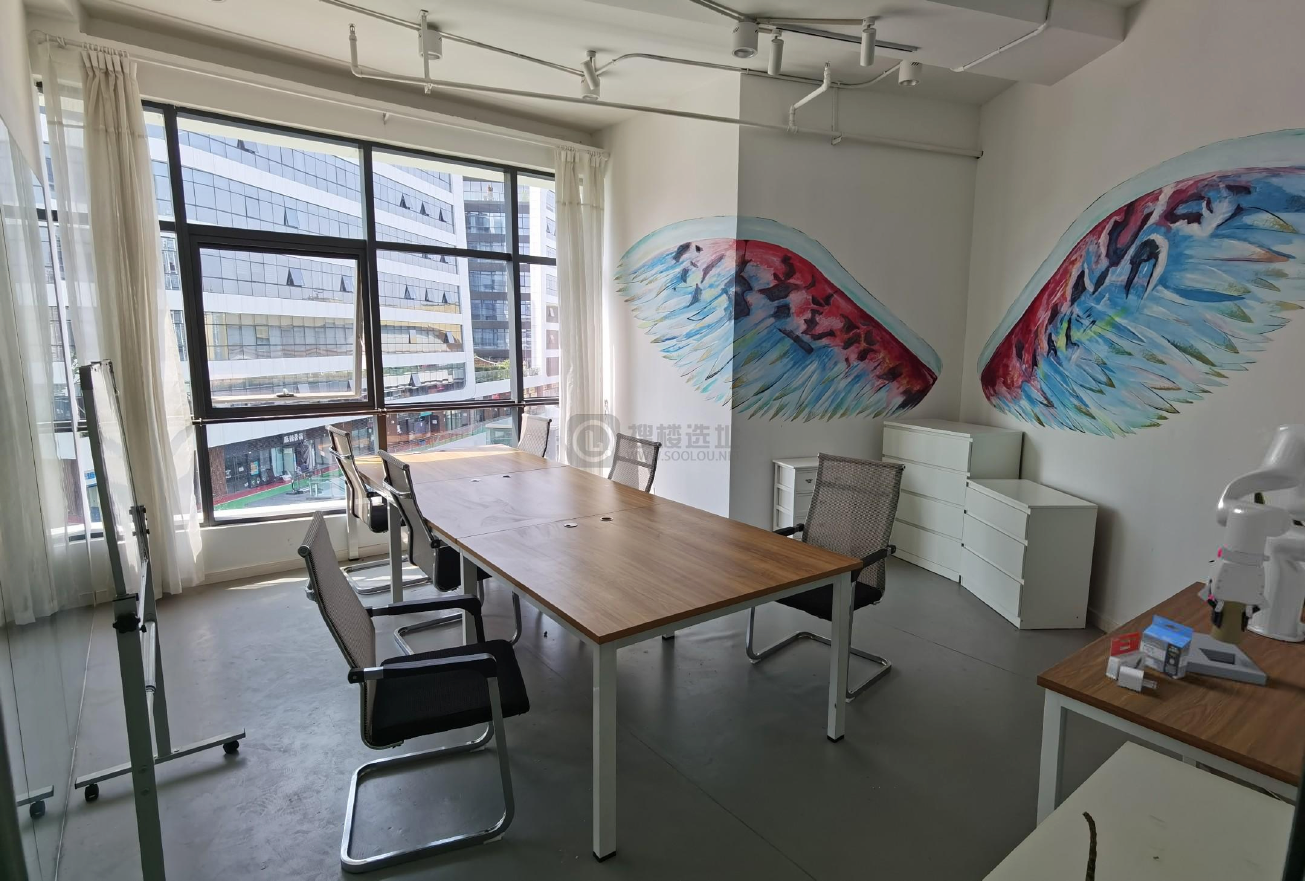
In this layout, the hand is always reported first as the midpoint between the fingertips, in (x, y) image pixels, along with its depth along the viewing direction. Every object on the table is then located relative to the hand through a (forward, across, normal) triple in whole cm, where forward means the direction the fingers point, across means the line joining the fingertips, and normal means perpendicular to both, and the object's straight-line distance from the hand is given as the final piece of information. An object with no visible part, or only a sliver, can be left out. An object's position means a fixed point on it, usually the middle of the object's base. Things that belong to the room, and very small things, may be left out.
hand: (1228, 626), depth 161 cm
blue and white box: (+11, +15, +9) cm, 20 cm away
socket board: (+11, +2, -4) cm, 12 cm away
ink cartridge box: (+11, +24, +16) cm, 31 cm away
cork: (+3, 0, 0) cm, 3 cm away
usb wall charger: (+11, +23, +22) cm, 34 cm away
